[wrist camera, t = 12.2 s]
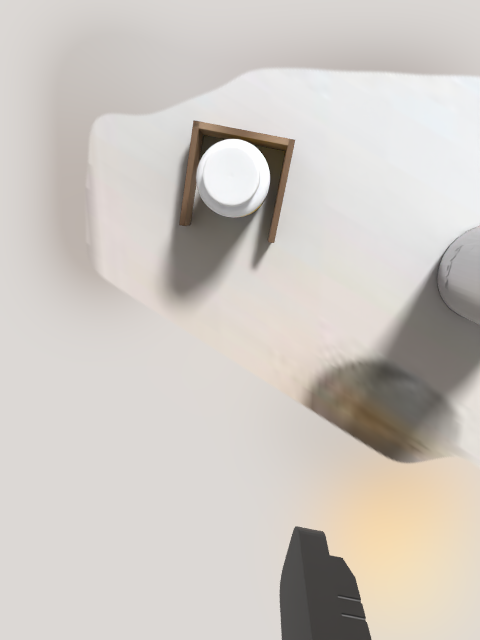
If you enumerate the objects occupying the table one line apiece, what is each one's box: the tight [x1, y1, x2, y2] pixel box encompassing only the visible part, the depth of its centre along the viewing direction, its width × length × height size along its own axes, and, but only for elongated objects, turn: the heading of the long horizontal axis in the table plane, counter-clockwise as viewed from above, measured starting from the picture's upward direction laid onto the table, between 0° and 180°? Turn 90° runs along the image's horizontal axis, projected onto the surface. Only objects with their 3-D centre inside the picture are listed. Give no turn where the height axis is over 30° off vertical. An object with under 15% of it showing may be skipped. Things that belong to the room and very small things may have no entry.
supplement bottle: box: [196, 139, 270, 218], centre depth 32 cm, size 6×6×10 cm
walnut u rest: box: [179, 121, 295, 243], centre depth 35 cm, size 9×9×3 cm
